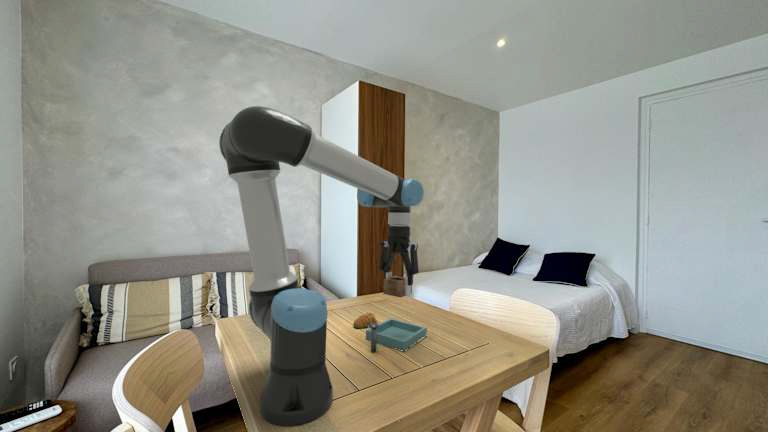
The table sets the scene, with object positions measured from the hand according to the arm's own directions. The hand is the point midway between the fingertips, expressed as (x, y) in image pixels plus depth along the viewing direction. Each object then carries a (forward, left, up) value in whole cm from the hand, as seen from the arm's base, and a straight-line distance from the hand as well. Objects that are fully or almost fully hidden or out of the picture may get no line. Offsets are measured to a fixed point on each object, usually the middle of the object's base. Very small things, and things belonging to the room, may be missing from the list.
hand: (397, 292), depth 100 cm
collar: (0, 0, 0) cm, 0 cm away
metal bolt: (-13, 0, -15) cm, 20 cm away
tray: (0, 0, -15) cm, 15 cm away
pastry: (+3, +16, -16) cm, 23 cm away
